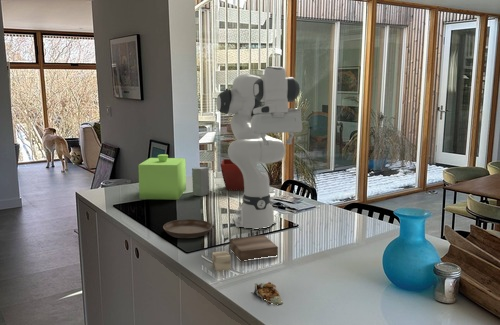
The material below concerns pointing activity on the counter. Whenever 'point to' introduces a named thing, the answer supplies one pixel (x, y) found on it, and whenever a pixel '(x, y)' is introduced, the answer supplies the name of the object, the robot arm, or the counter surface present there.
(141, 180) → the canister
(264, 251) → the walnut base
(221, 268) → the maple cube
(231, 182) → the plant pot
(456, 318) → the counter surface
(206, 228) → the plant saucer
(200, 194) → the skincare box
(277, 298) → the pastry
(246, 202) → the robot arm
